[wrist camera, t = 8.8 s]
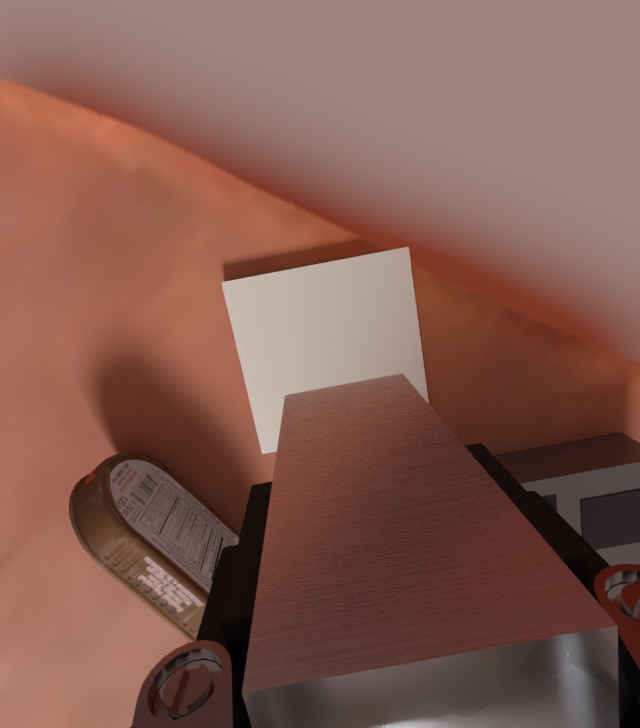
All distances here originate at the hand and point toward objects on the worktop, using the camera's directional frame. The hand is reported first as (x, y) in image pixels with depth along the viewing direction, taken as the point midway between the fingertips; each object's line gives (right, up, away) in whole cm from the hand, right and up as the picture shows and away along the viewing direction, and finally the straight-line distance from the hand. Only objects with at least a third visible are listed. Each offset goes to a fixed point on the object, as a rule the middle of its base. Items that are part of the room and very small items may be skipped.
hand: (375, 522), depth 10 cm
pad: (-1, +5, +19) cm, 19 cm away
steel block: (0, +1, +5) cm, 5 cm away
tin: (-11, -7, +22) cm, 25 cm away
